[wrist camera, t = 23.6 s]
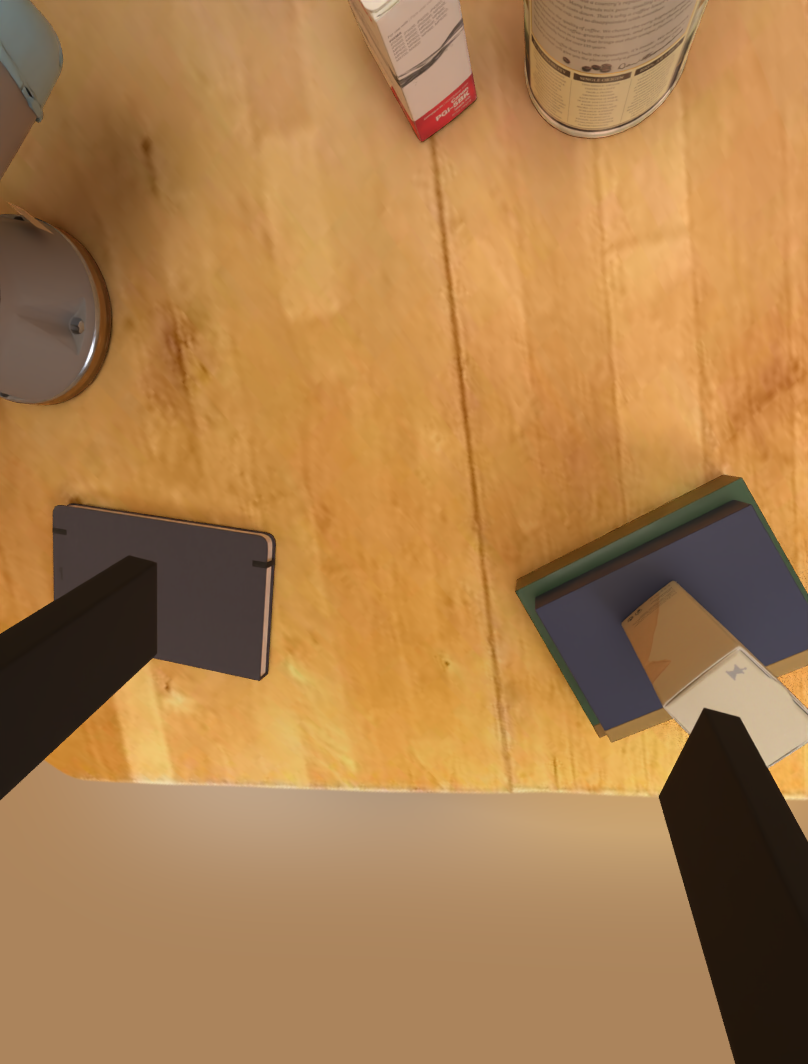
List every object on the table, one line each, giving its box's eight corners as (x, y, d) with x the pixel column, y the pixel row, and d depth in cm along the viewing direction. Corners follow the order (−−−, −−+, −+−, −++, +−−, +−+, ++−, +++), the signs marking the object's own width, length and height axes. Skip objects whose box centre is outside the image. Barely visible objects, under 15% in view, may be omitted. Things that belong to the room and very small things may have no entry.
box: (618, 622, 35) (654, 701, 24) (673, 576, 33) (737, 639, 23) (679, 682, 34) (743, 790, 24) (737, 639, 33) (832, 731, 22)
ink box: (481, 100, 38) (457, -49, 26) (420, 146, 39) (373, 24, 28) (420, -13, 37) (370, -212, 26) (361, 37, 39) (289, -131, 27)
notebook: (67, 631, 53) (268, 673, 49) (53, 637, 52) (259, 681, 47) (66, 502, 51) (276, 533, 46) (51, 503, 49) (268, 537, 45)
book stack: (594, 714, 42) (604, 761, 36) (516, 579, 42) (513, 603, 36) (808, 625, 38) (863, 661, 32) (723, 474, 38) (761, 480, 31)
